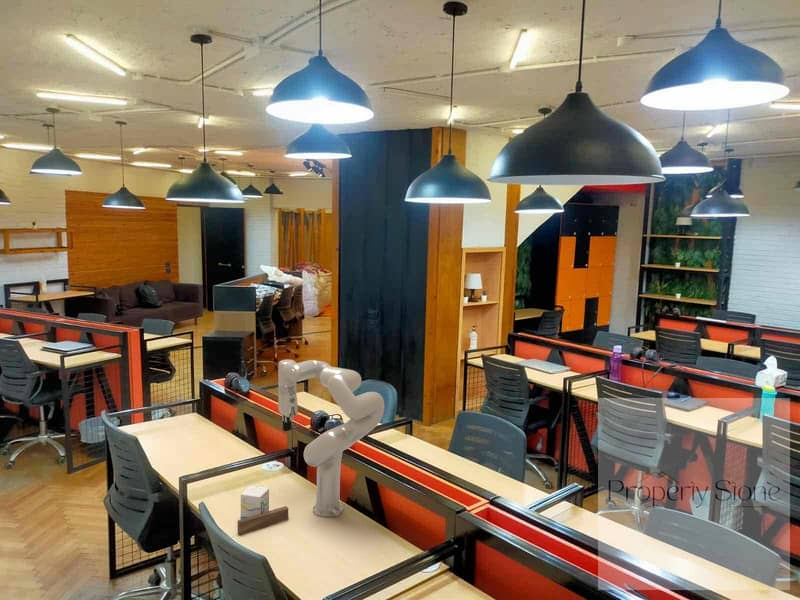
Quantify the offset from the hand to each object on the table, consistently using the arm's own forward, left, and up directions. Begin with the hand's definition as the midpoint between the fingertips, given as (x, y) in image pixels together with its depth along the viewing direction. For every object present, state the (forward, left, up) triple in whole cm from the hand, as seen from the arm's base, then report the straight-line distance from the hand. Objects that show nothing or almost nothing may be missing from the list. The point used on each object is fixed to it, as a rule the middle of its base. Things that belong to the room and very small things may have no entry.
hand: (287, 430), depth 235 cm
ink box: (-12, +19, -29) cm, 37 cm away
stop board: (-19, +19, -29) cm, 40 cm away
